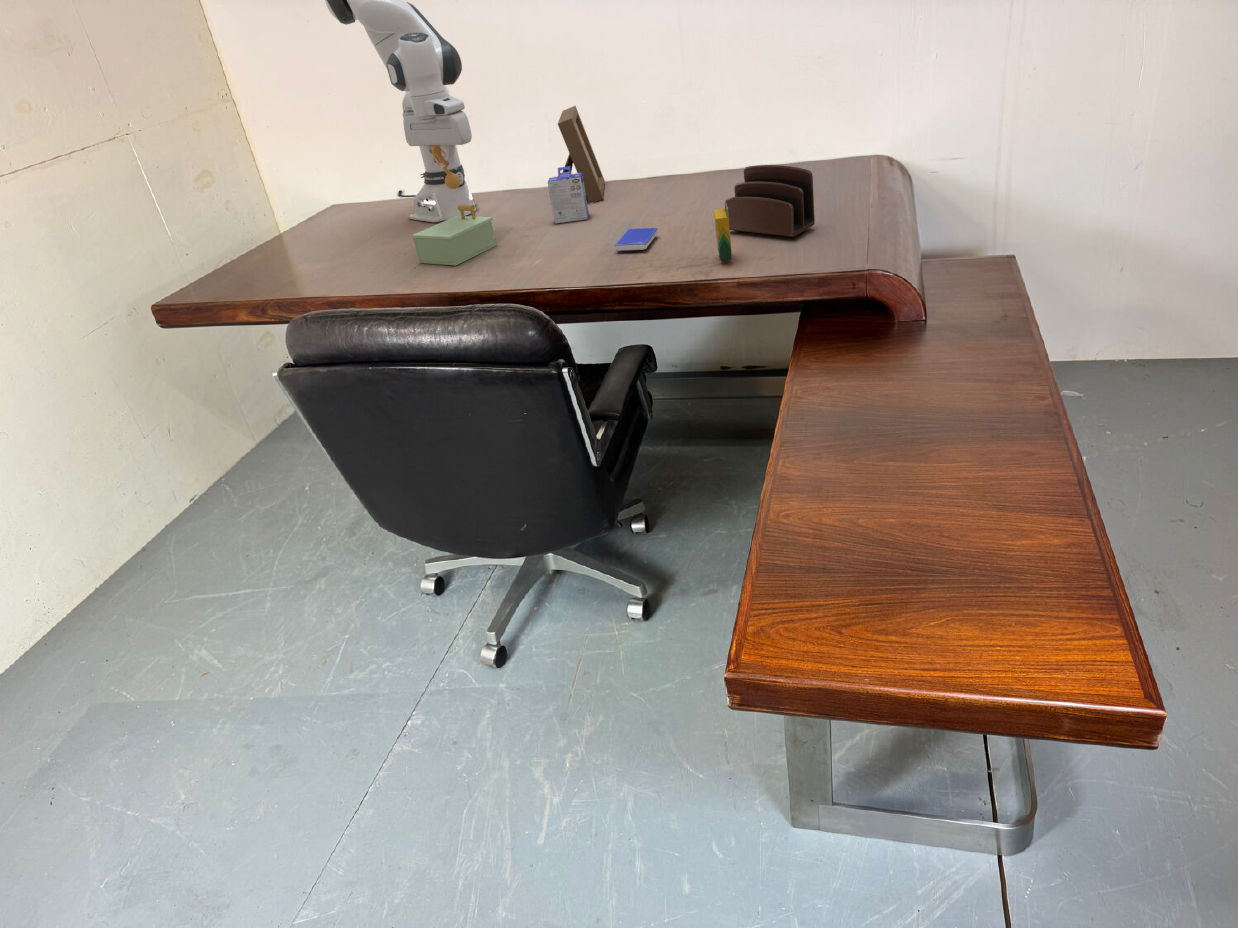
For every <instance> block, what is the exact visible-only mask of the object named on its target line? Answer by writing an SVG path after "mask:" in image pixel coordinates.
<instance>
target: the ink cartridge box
mask: <svg viewBox="0 0 1238 928" xmlns="http://www.w3.org/2000/svg"><path fill="white" fill-rule="evenodd" d="M564 169H566V170H569V171H568V172H563V170H564ZM562 172H563V173H562ZM547 186H548V192H549V198H550V202H551V208H552V215H553V220H554V224H562V223H569V222H578V221H584V220H588V219H589V216H590V212H589V207H588V201H587V200H588V198H587V196H586V193H585V187H584V181H583V175H582V173H577V172H575V173H572V171H571V170H570V166H568V167H565V166H561V167H557V176H551V177H549V178H548V180H547Z"/></svg>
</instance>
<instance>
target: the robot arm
mask: <svg viewBox="0 0 1238 928" xmlns="http://www.w3.org/2000/svg"><path fill="white" fill-rule="evenodd" d="M325 4H326V7H327V10H328V12H329V13H330V14H331V15H332V17H333V18H334V19H335V20H337V21H338V22H339V23H340V24H343V25H345V26H346V25H350V24H354V23H356V21H358V22H359V23H360V24H361V26H363V27H364V30H365V33H366V34H367V37H368V38H369V40H370V42H371V44H372V46H373V48H374V49H375V51H376V53H377V55H378V56H379V58H380V59H381V61H382V63H383V65H384V67H385V68H386V70H387V73H388V77H389V81H390V83H391V85H392V86H393V87H394V88H396V89H397V90H398V91H400V92H405V94H404V96H403V99H402V103H401V108H402V111H403V112H402V118H403V130H404V131H403V132H404V137H405V141H406V143H407V144H408V146H409V147H418V148H419V150H420V151H419V152H420V155H421V160H422V162H423V167H424V170H425V171H424V173H421V174H420V176H421V177H420V179H423V185H422V187H421V188H420V189H419V191H418V192H417V193H416V194H410V195H409V194H407V195H406V194H405V195H403V194H402V193H403V190H401V189H400V190H398V193H397V195H398V197H399V198H413V205H414V210H415V211H414V212H412V213H411V214H409V219H410V220H415V221H421V222H429V223H440V222H443V221H446V220H448V219H450V218H453V217H455V216H461V213H460V211H459V210H458V205H474V206H475V210H474V212H476V211H477V207H476V203H475V202H474V201H473V196H472V193H471V192H470V189H469V187H468V184H467V183H468V182H467V181H466V179H465V177H466V175H465V169H464V167H463V165H462V164H461V159H460V156H459V150H458V146H462V145H466V144H469V143H471V141H472V138H473V136H472V129H471V125H470V122H469V118H468V116H467V114H466V112H465V111H464V110H465V107H466V105H465V103H464V101H463V100H462V99H459V98H458V97H454V96H451V93H450V90H449V88H448V87H447V86H450V85H454V84H455V83H456V82H457V81H458V80H459V78H460V76H461V74H462V71H463V64H462V59H461V56H460V54H459V52H458V50H457V48H455V46H454V45H453V44H452V43H450V42H449V41H448V40H446V39H445V37H443V36H442V35H441V34H440V33H439V31H437V29H436V28H435V27H434V26H433V25H432V24H431V22H430V21H428V19H427V18H426V17H425V16H424V15H423V13H422V12H420V10H419V9H418V8H417V7H416V6H415V5H414V4H413V3H410V2H408V1H405V0H325ZM437 145H441V146H440V148H441V149H442V150H443V151H444V152H445V153H446V154H447V156H446V155H445V154H444V153H443V152H442V151H441V154H442V156H443V157H444V158H445V160H446V161H445V162H446V163H449V165H448V167H447V169H448V170H449V171H450V172H453V173H454V174H457V175H458V176H459V178H460V185H459V187H458V188H456V189H450V188H448V187H447V186H446V184H445V177H446V176H447V174H446V173H445V172H444V169H443V167H444V166H445V165H443V164H441V163H440V164H439V165H438V164H437V161H436V160H435V159H434V157H433V155H432V151H431V149H430V147H431V146H437ZM435 157H436V156H435ZM436 158H437V157H436ZM437 160H438V158H437ZM438 162H439V161H438ZM468 215H471V211H464V216H468Z"/></svg>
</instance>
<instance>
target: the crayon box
mask: <svg viewBox="0 0 1238 928" xmlns="http://www.w3.org/2000/svg"><path fill="white" fill-rule="evenodd" d="M725 206H726V208H725ZM713 215H714V216H713V217H714V223H715V224H714V225H715V235H716V236H715V237H716V246H717V252H718V257H719V261H727V260H732V259H733V252H732V251H733V250H732V241H731V230H730V228H729V215H728V207H727V204H726V201H725V200H724V208H718V209H714V210H713Z"/></svg>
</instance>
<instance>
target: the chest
mask: <svg viewBox="0 0 1238 928" xmlns="http://www.w3.org/2000/svg"><path fill="white" fill-rule="evenodd" d="M495 236H496V235H495V231H494V227H493V223H492V221H490V222H487V223H485V224H483V225H481V226H479V227H477V228H474V229H472V230H470V231H468V232H466V233H463V234H461V235H459V236H457V237H455V238H453V239H450V240H444V239H425V238H413V237H412V239H413V243H414V247H415V251H416V254H417V258H418V263H419V264H430V265H445V266H458V265H460V264H462V263H465V262H466V261H468V260H470V259H472V258H474V257H476V256H478V255H481V254H482V253H484V252H486V251H488V250H490V249H492V248H495V247H496V246H497V241H496V237H495Z"/></svg>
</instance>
